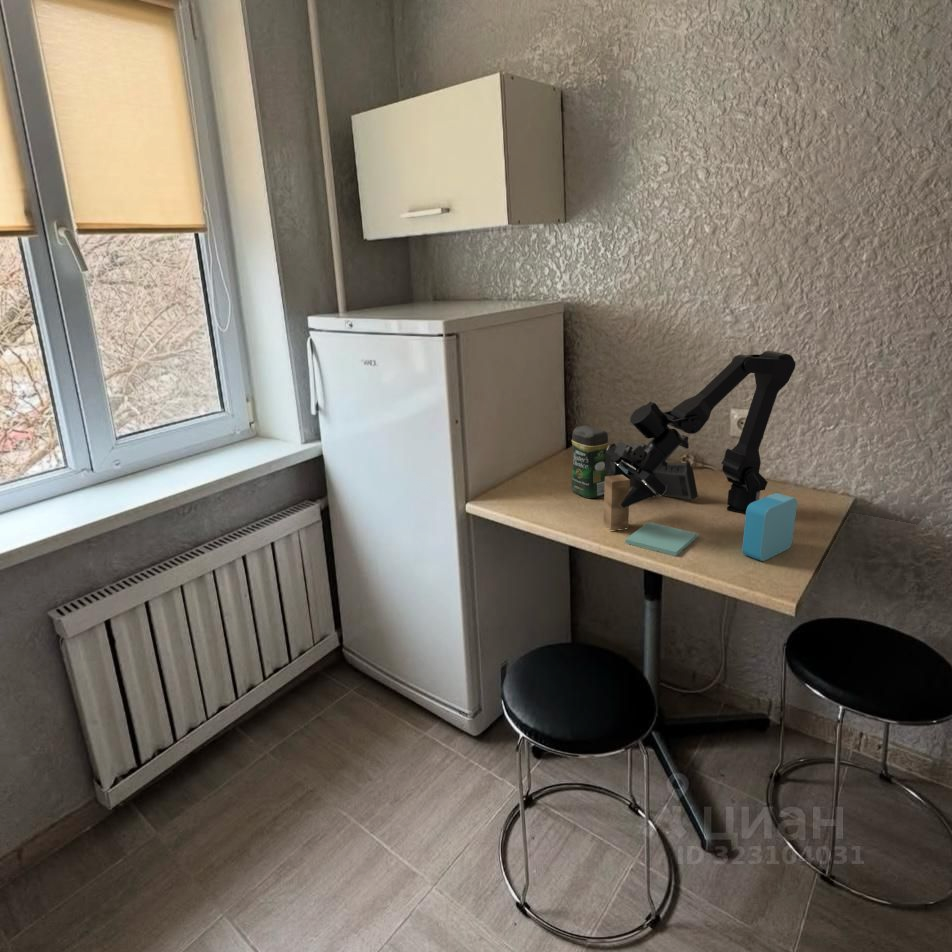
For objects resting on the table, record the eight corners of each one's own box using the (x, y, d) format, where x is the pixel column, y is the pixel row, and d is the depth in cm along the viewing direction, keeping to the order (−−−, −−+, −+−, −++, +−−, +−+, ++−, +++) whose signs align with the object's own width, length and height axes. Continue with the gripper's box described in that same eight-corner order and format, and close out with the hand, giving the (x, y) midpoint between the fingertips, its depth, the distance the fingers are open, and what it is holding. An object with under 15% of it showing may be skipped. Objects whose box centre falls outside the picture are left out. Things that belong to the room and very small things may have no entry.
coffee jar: (566, 491, 182) (566, 426, 176) (588, 485, 186) (589, 421, 180) (589, 501, 175) (590, 433, 169) (611, 495, 178) (613, 428, 172)
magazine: (709, 470, 167) (617, 419, 185) (702, 473, 165) (610, 422, 183) (687, 524, 176) (601, 471, 193) (680, 528, 174) (594, 474, 191)
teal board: (697, 537, 150) (697, 533, 150) (675, 556, 142) (676, 552, 141) (648, 525, 158) (648, 522, 157) (625, 543, 149) (625, 539, 149)
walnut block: (620, 523, 160) (622, 474, 156) (628, 529, 156) (630, 479, 152) (603, 525, 159) (604, 476, 155) (610, 531, 155) (612, 481, 151)
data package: (772, 541, 147) (778, 491, 143) (792, 547, 144) (798, 496, 140) (740, 556, 141) (746, 504, 137) (760, 563, 137) (766, 510, 133)
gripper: (619, 419, 160) (575, 467, 161) (657, 439, 142) (608, 492, 143) (647, 447, 164) (604, 494, 165) (687, 469, 147) (640, 521, 148)
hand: (613, 499), depth 155 cm, fingers open, 9 cm apart
